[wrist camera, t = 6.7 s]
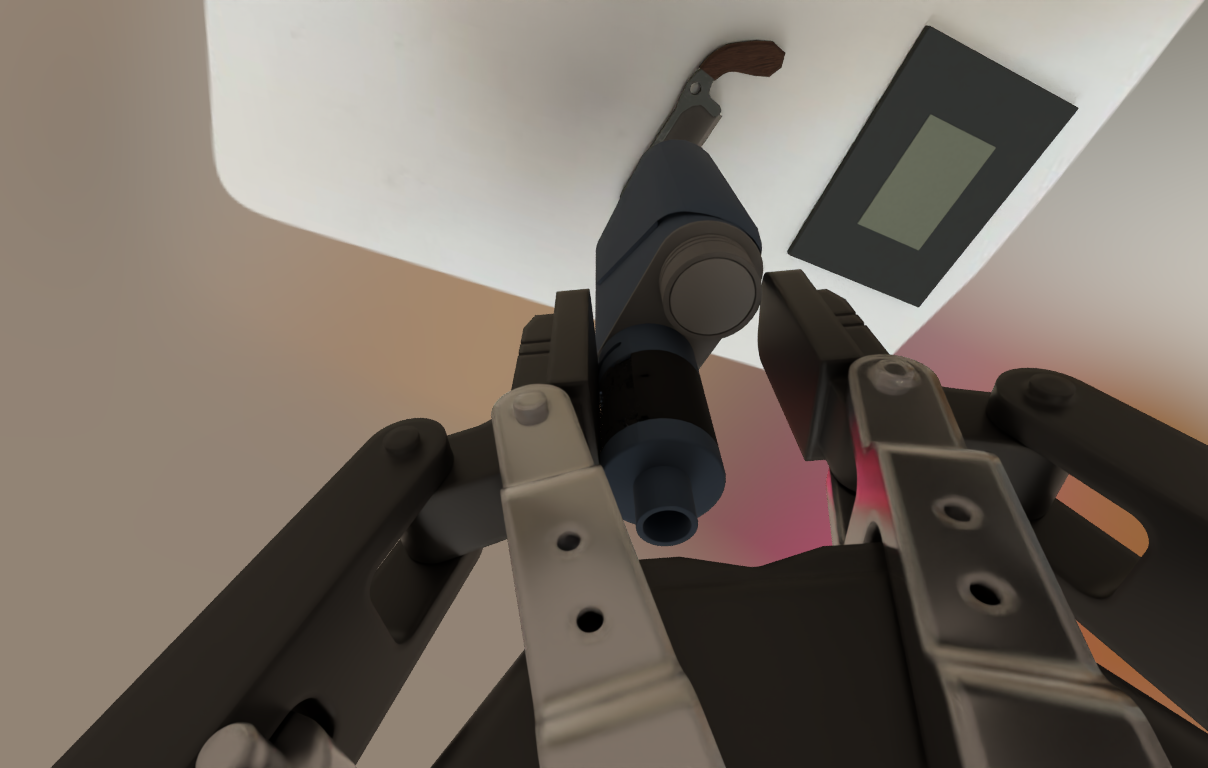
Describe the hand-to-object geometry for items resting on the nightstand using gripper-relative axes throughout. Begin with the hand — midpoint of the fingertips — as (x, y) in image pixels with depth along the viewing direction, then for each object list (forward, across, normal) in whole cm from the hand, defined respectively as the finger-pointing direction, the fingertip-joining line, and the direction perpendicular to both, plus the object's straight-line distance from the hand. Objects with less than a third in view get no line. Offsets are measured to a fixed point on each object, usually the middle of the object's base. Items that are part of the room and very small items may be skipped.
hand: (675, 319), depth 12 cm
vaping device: (+7, 0, 0) cm, 7 cm away
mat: (+25, -18, +6) cm, 32 cm away
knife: (+25, -4, +2) cm, 25 cm away
